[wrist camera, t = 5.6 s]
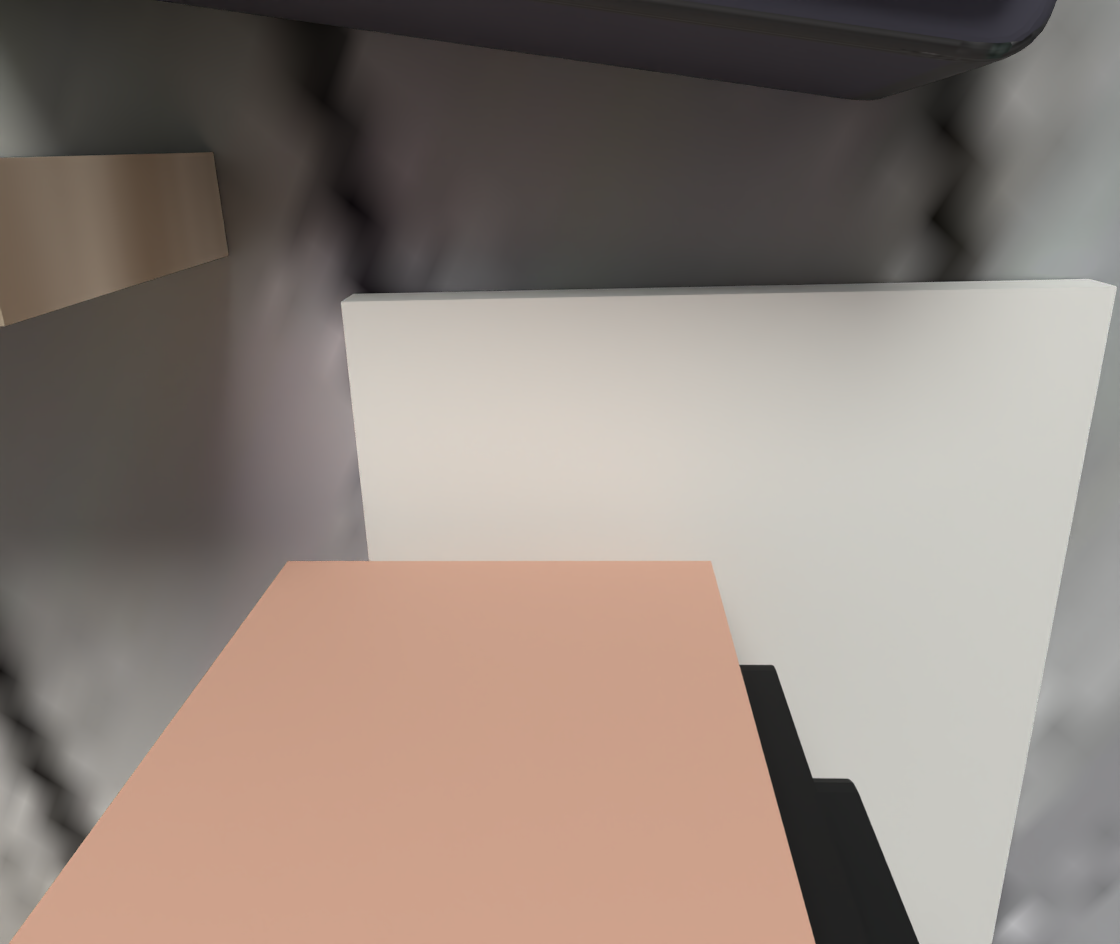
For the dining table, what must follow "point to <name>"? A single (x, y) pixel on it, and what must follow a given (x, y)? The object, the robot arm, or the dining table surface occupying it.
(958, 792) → the mat
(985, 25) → the calculator
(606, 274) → the dining table surface
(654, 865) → the block
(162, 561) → the dining table surface
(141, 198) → the u-shaped frame
